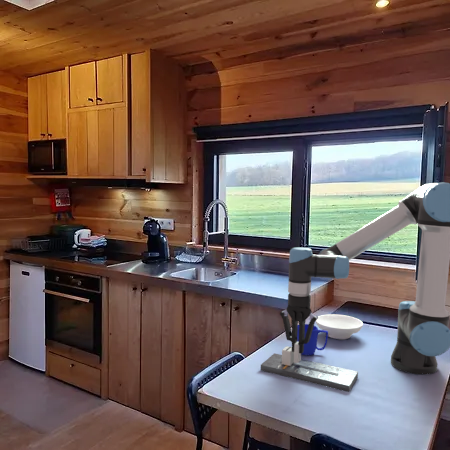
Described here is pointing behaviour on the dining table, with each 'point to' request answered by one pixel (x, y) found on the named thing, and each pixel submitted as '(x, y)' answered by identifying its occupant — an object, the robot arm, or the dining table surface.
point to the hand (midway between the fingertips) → (297, 361)
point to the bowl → (339, 325)
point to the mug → (312, 340)
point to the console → (312, 372)
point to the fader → (287, 356)
